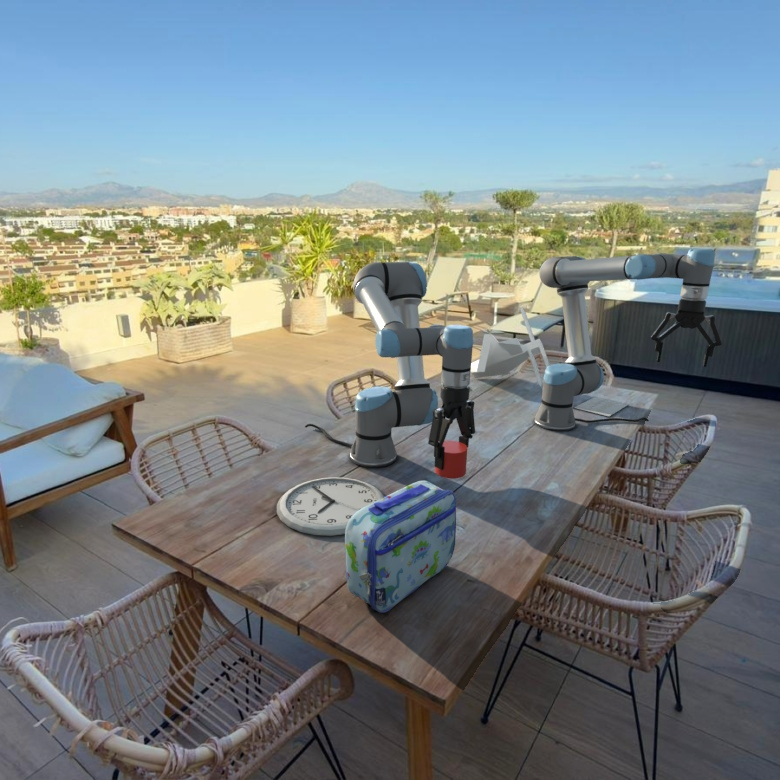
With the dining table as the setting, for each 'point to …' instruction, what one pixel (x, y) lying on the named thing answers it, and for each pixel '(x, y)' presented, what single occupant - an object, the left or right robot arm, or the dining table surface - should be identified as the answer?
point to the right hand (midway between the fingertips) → (680, 363)
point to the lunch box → (399, 543)
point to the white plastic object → (508, 355)
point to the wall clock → (325, 504)
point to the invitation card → (601, 406)
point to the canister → (453, 460)
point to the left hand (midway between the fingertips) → (450, 463)
